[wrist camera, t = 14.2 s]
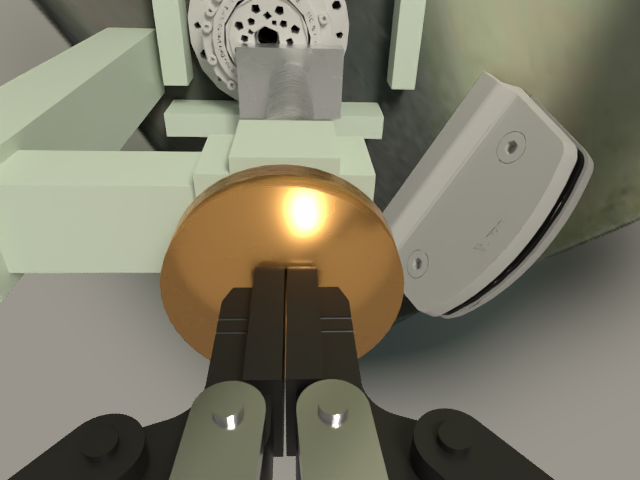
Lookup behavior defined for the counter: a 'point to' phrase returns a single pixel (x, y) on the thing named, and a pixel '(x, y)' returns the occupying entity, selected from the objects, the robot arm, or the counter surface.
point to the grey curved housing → (485, 199)
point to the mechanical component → (225, 32)
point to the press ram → (283, 212)
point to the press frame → (149, 166)
